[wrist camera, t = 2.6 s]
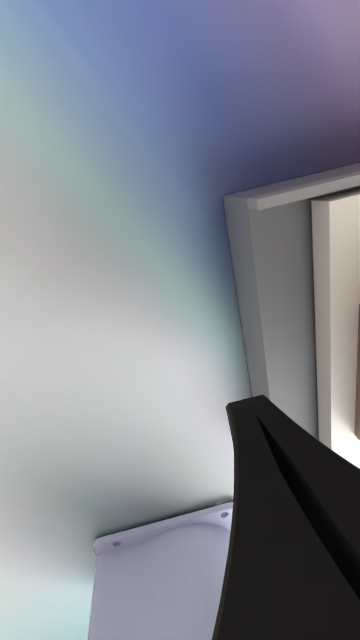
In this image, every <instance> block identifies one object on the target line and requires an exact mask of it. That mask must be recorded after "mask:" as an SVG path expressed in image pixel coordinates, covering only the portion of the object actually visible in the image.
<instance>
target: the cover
mask: <svg viewBox="0 0 360 640" xmlns="http://www.w3.org/2000/svg"><path fill="white" fill-rule="evenodd" d="M311 207H312V238H313V269H314V300H315V331H316V362H317V393H318V424H319V441H320V442H321V443H323V444H324V445H326V446H327V447H328V448H330V449H331V450H333V451H334V452H335V453H337V454H338V455H340V456H341V457H343V458H344V459H346V460H347V461H349V462H350V463H352V464H353V465H355V466H356V467H358V468H360V189H356V190H352V191H348V192H344V193H340V194H335V195H331V196H327V197H323V198H319V199H315V200H311Z"/></svg>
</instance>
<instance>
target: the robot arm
mask: <svg viewBox="0 0 360 640" xmlns="http://www.w3.org/2000/svg"><path fill="white" fill-rule="evenodd" d="M226 410H227V415H228V420H229V425H230V430H231V435H232V440H233V446H234V497H233V502H229V503H225V504H221V505H218V506H214V507H210V508H207V509H203V510H199V511H196V512H192V513H188V514H185V515H181V516H177V517H174V518H170V519H166V520H162V521H159V522H155V523H151V524H148V525H144V526H140V527H137V528H133V529H129V530H126V531H122V532H118V533H115V534H111V535H107V536H104V537H100V538H97V539H96V540H95V541H94V547H93V548H94V551H95V553H96V554H97V560H96V569H95V578H94V587H93V596H92V605H91V614H90V623H89V632H88V640H360V468H358V467H356V466H355V465H353V464H352V463H350V462H349V461H347V460H346V459H344V458H343V457H341V456H340V455H338V454H337V453H335V452H334V451H333V450H331V449H330V448H328V447H327V446H326V445H324V444H323V443H321V442H320V441H319V440H317V439H316V438H315V437H313V436H312V435H311V434H310V433H308V432H307V431H306V430H304V429H303V428H302V427H301V426H299V425H298V424H297V423H296V422H294V421H293V420H292V419H291V418H290V417H288V416H287V415H286V414H285V413H284V412H283V411H281V410H280V409H279V408H278V407H277V406H276V405H275V404H274V403H273V402H271V401H270V400H269V399H268V398H267V397H266V396H264V395H263V394H262V395H258V396H255V397H251V398H247V399H243V400H240V401H236V402H232V403H228V405H227V406H226Z"/></svg>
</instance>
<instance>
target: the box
mask: <svg viewBox="0 0 360 640" xmlns="http://www.w3.org/2000/svg"><path fill="white" fill-rule="evenodd" d="M356 189H360V163H355V164H351V165H347V166H343V167H339V168H335V169H331V170H327V171H323V172H319V173H315V174H310V175H306V176H302V177H298V178H294V179H290V180H286V181H282V182H278V183H274V184H270V185H265V186H261V187H257V188H253V189H249V190H245V191H241V192H237V193H233V194H229V195H225V196H222V197H223V203H224V210H225V217H226V224H227V230H228V237H229V244H230V251H231V258H232V264H233V271H234V278H235V285H236V291H237V298H238V305H239V312H240V319H241V325H242V332H243V339H244V346H245V352H246V359H247V366H248V373H249V379H250V386H251V393H252V397H255V396H258V395H262V394H263V395H264V396H266V397H267V398H268V399H269V400H270V401H271V402H273V403H274V404H275V405H276V406H277V407H278V408H279V409H280V410H281V411H283V412H284V413H285V414H286V415H287V416H288V417H290V418H291V419H292V420H293V421H294V422H296V423H297V424H298V425H299V426H301V427H302V428H303V429H304V430H306V431H307V432H308V433H310V434H311V435H312V436H313V437H315V438H316V439H317V440H319V424H318V393H317V362H316V331H315V300H314V269H313V238H312V207H311V200H315V199H319V198H323V197H327V196H331V195H335V194H340V193H344V192H348V191H352V190H356Z"/></svg>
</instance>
